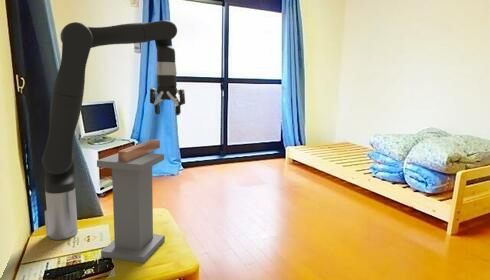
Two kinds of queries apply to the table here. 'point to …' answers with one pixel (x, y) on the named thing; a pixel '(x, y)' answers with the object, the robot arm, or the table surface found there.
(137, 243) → the stand
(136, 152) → the bar
